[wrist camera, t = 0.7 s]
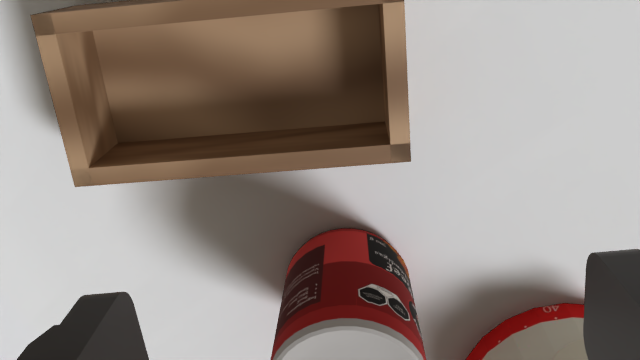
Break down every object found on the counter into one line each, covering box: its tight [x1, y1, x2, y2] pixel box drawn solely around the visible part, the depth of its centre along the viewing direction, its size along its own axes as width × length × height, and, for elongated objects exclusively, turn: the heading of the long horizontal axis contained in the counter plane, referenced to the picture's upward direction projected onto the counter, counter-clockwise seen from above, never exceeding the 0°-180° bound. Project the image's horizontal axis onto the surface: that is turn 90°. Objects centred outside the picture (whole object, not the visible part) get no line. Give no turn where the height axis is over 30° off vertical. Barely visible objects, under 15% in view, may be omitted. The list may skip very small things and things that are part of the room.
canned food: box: [271, 228, 426, 360], centre depth 34 cm, size 8×8×11 cm
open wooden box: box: [30, 0, 411, 187], centre depth 32 cm, size 9×18×5 cm, turn 95°
